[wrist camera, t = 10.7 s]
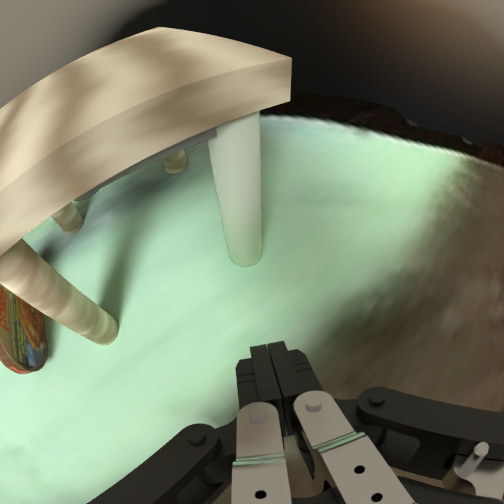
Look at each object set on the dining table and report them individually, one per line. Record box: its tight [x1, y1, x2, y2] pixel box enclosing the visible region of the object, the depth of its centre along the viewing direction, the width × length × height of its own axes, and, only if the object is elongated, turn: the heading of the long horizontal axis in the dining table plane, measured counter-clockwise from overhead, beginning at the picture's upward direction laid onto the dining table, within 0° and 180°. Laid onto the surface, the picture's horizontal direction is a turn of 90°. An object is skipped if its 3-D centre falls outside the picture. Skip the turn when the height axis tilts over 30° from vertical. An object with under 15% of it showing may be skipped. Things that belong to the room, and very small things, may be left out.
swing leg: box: [74, 110, 262, 267], centre depth 22 cm, size 13×4×17 cm, turn 119°
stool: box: [0, 27, 292, 346], centre depth 23 cm, size 24×24×21 cm
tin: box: [0, 284, 47, 374], centre depth 22 cm, size 15×3×8 cm, turn 25°
